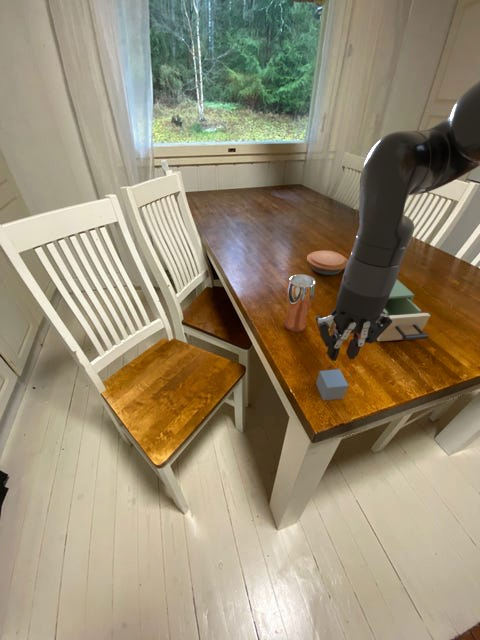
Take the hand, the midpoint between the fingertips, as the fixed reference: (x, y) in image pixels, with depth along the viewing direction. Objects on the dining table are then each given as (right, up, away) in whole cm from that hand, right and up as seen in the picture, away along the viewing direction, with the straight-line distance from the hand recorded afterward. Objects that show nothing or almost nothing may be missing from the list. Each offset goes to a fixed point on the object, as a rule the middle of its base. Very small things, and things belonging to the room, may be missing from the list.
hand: (341, 356), depth 54 cm
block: (0, -9, +7) cm, 11 cm away
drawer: (+22, +5, +23) cm, 32 cm away
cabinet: (+21, +11, +32) cm, 40 cm away
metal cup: (-4, +6, +25) cm, 26 cm away
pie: (+13, +27, +52) cm, 61 cm away
